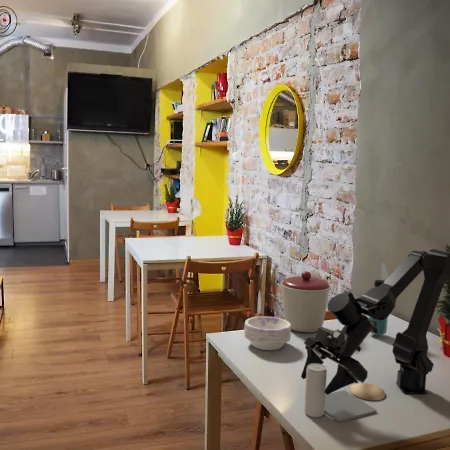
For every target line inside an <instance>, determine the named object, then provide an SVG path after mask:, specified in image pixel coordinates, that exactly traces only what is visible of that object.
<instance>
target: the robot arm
mask: <svg viewBox="0 0 450 450" xmlns="http://www.w3.org/2000/svg"><path fill="white" fill-rule="evenodd" d="M421 273H423V277H424V279H423V282H422V285H421V289H420V291H419V295H418V296H417V300H416V304H415V305H414V308H413V312H412V314H411V318H410V320H409V323H408V326H407V328H406V329H405V330H404V331H403V332H401V331H398V332H397V333H396V335H395V338H394V339H395V340H394V341H393V343H392V353H393V356H394V360H395V364H398V365H399V369H398V370H397V375H396V385H397V386H398V388H399V389H400V390H401V392H402V393H404V394H419V395H420V394H421V395H422V394H424V395H425V394H426V395H427V394H428V391H427V389H426V383H427V382H426V380H427V375H428V374H429V373H430V372H432V371H433V368H434V362H433V361H432V360H431V359H430V358H429V356H428V351H429V343H428V339H427V334H428V330H429V327H430V325H431V322H432V319H433V316H434V313H435V311H436V307H437V305H438V303H439V299H440V295H441V293H442V290H443V288H444V285H446V283H448V282H449V281H450V251H446V250H443V249H442V250H440V249H437V248H432V249H430V250H428V251H425V250H415V249H414V250H411V251H410V252H409V253H408V255H407V258H405V260H403V262H402V263H401V264H400V265H399V266H397V268H396V269H395V270H394V271H393V272H392V273H391V274H390V275H389V276H388V277H387V278H386V280H384V281H385V282H384V283H382V284H381V285H380V286H377V287H375V286H374V287H372V288H370V289H369V290H367V291H366V292H364V294H362V295H361V296H360V297H357V298H355V296H354V294H353V293H352V291H350V290H347V289H345V290H344V291H343V292H342V293H338V294H336V295H334V296H332V297H331V298H330V299H329V301H328V302H327V309H328V311H329V312H330V313H331V314H332V315H333V316H334V317H335V319H336V320H337V321H338V322H339V323H340V324H341V325H343V327H342V329H341V330H340V329H335V330H334V332H331V331H329V330H327V329H324V328H322V327H321V328H320V327H318V330H317V331H316V333H315V334H314V336H308V337H307V338H306V339H305V341H304V342H303V344H304V345H305V347H304V348H305V350H306V353H307V355H306V356H307V357H306V360H305V363H304V367H303V369H302V372H301V375H300V377H301V379H303V380H306V371H307V366H308V365H309V364H312V363H318V364H322V365H324V361H323V360H326V359H329V360H330V361H332V362H334V363H336V364H337V369H336V373H335V375H334V376H333V377H332V378H331V380H330V382H329V383H328V385H326V389H325V391H324V393H325V395H326V394H327V395H328V394H330V393H334V392H337V391H338V390H340V389H343V388H345V387H347V386H349V385H354V384H358V383H364V382H366V380H367V378H368V373H369V371H368V370H367V369H366V368H365V367H364V366H363V364H361V362H360V361H359V360H357V359H355V358H354V357H352V356H353V355H354V354H355V352H358V353H361V351H362V347H361V344H362V343H363V342H364V341H365V339H366V338H367V337H368V335H369V334H370V333H371V332H372V333H371V334H373V333H374V334H375V335H378V334H377V333H378V330H377V323H375V322H373V321H370V319H369V317H372V318H374V319H377V320H385V319H386V318H389V316H390V315H391V313H392V312H393V310H394V309H395V307H396V302H397V299H398V297H399V296H400V295H401V294H402V293H403V292H404V291H405V290H406V289H407V288H408V286H409V285H410V284H411V283H412V282H414V280H415V279H416V278H417V277H418V276H419V275H420V274H421Z"/></svg>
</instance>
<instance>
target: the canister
mask: <svg viewBox="0 0 450 450" xmlns="http://www.w3.org/2000/svg"><path fill="white" fill-rule="evenodd" d="M280 286H281V287H282V301H283V302H282V304H283V305H282V307H283V316H284V318H283V319H284V320H286V321H288V322H290V324H291V331H293V332H294V331H295V332H297V333H307V334H308V333H315V332H317V330H318V327H320V328H322V327H323V325H324V321H325V318H326V311H327V308H328V302H329V301H328V299H329V294H330V290H331V289H332V285H331V283H329V282H328V281H326V280H325V279H323V278H319V277H313V276H312V274H311V272H310V271H308V270H307V271H303V272H302V273H301V275H300V276H297V275H296V276H290V277H286V278H285V279H283V280H281V281H280Z"/></svg>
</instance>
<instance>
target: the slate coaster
mask: <svg viewBox="0 0 450 450" xmlns="http://www.w3.org/2000/svg"><path fill="white" fill-rule="evenodd" d="M377 410H378V409H375V408H374V407H372V406H371V405H370V404H367V403H366V402H364V401H363V400H362V399H360V398H358V397H356V396H354V395H353V394H352V393H351V392H348V391H347V390H345V389H344V390H339V391H334V392H332V393H330V394H328V395H327V394H325V407H324V414H325V415H327V416H329V417H330V418H331V419H333V420H334V421H335V422H337V423H342V422H346V421H349V420H354V419H356V418H361V417H363V416H368V415H373V414H376V413H377Z"/></svg>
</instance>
